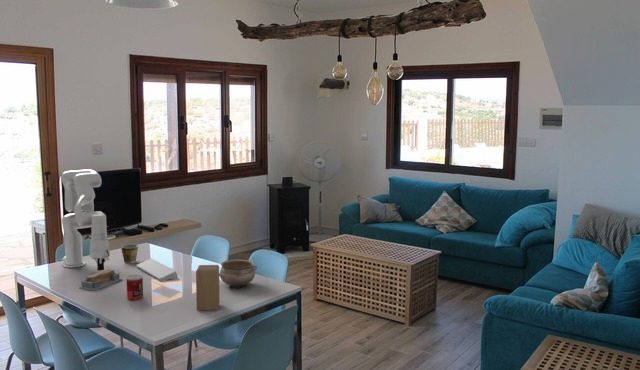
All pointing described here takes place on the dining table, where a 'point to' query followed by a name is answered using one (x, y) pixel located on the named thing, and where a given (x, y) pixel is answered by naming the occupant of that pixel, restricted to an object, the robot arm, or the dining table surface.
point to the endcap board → (97, 284)
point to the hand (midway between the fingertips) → (100, 270)
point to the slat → (101, 276)
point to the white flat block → (157, 270)
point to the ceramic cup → (129, 253)
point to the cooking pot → (237, 272)
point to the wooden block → (207, 287)
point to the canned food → (134, 287)
